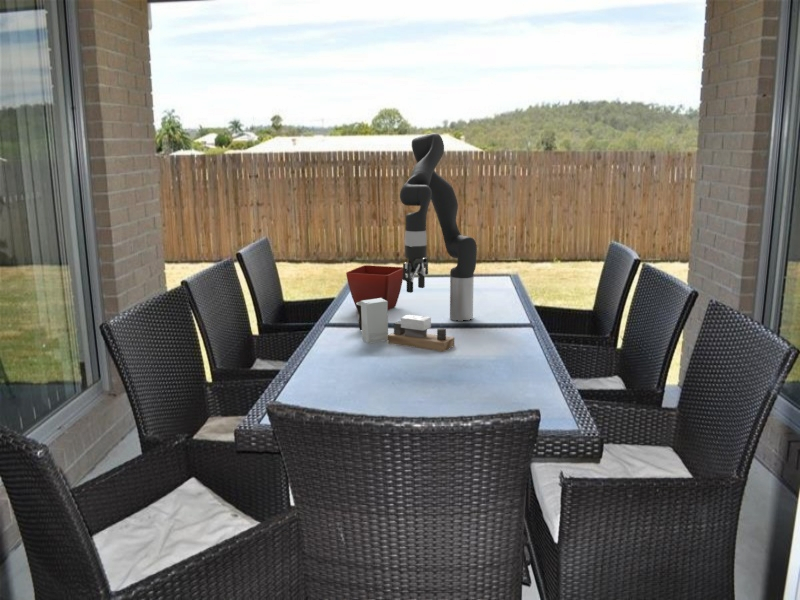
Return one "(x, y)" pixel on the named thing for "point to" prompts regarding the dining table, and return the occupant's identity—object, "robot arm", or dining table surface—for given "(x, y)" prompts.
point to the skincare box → (374, 320)
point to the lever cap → (416, 322)
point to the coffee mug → (359, 314)
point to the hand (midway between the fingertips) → (415, 290)
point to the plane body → (420, 338)
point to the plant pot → (375, 283)
